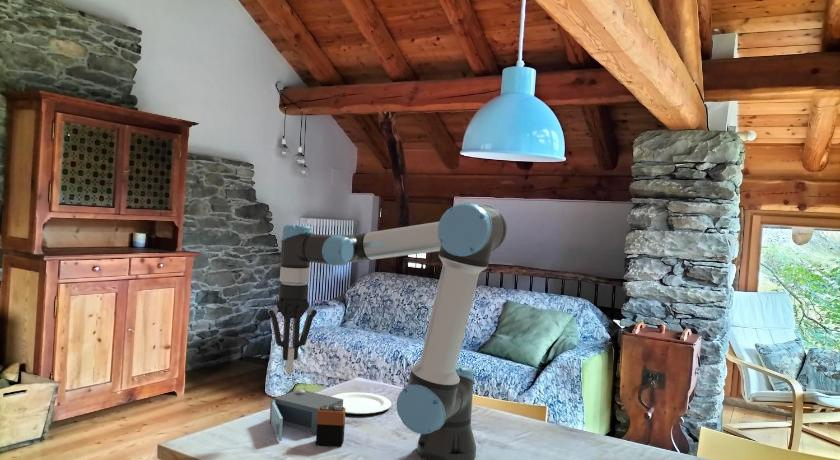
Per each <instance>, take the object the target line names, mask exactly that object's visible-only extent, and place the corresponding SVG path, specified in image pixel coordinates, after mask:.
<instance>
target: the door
mask: <svg viewBox="0 0 840 460" xmlns="http://www.w3.org/2000/svg"><path fill="white" fill-rule="evenodd" d="M269 424H271V426H272V428H273V431H274V433H275V436H276V437H277V440H278V441H279V442H281V441H283V440H282V438H283V418H282V416H281V414H280V412H279V410H278V408H277V406H276V404H275V400H274V399H271V400H270V409H269Z"/></svg>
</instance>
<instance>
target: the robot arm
mask: <svg viewBox="0 0 840 460" xmlns="http://www.w3.org/2000/svg"><path fill="white" fill-rule="evenodd" d="M312 230H313V229H312V227H311V226H310V225H306V224H305V225H304V224H286V225H284V226H283V229H282V236H281V241H280V242H281V250H280V251H281V252H280V253H281V255H280V256H281V257H280V260H281V261H280V272H279V282H281V283H279V285H278V286H279V287H278V290H279V291H278V301H276V303H275V304H276V305H275V306H273V307H272V308H268V309H267V313H268V315H269V316H270V319H271V324H272V328H273V335H274V340H275V343H276V345H277V346H278V347H280V348H282V353H281V355H282V360H283V361H285V372H286V374H293V373H294V363H295V362H294V361H296V360H298V357H299V356H298V355H299V348H300V347H302V346H305V345H306V344H307V340H308V337H309V334H310V330H311V326H312V324H313V321H314V318H315V317H316V315H317V314H318V311H317V310H316V309H315V308H313V307H311V306H310V303H309V301H308V299H309V285H308V284H307V283H309V281H310V267H311V266H310V264H311V263H315V264H322V265H330V266H346V265H348V264H349V263H361V262H362V263H363V262H365V261H371V260H379V259H387V258H388V259H389V258H397V257H403V256H410V255H412V256H413V255H419V254H420V255H421V254H425V253H435V252H438V258H439V259H440V261H441V264H442V268H441V272H440V275H439V280H438V284H437V288H436V292H435V296H434V301H433V304H432V309H431V312H430V313H431V314H430V318H429V323H428V326H427V330H426V334H425V339H424V342H423V347H422V350H421V356H420V359H419V362H417V363H415V364H414V365H412V367H411V369H410V374H409V378H408V381H407V382H408V383H407V385H406V386H405V387H404V388H402V389H401V391H400V392H399V393H398V396H397V400H396V411H397V415H398V417H399V418H400V420H401V422H402V423H403V426H405V427H406V428H407V429H409V430H410V431H412V432H414V433H416V434H419V438H418V440H417V446H416V449H417V450H416V451H417V455H418V456H419V457H421V458H422V459H424V460H474V459H476V457H477V444H476V440H475V436H474V433H473V429H472V410H473V409H472V408H473V394H474V393H473V391H474V382H475V379H474V370H473V368H472V367H470V366H468V365H465V364H460V363H458V362H459V357H460V353H461V350H462V346H463V342H464V337H465V332H466V330H467V326H468V325H467V324H468V320H469V316H470V313H471V308H472V304H473V300H474V296H475V293H476V288H477V284H478V281H479V280H478V279H479V276H480V273H481V272H483V271H485V270H486V269H488V266H489V263H490V259H491V255H492V252H493V251H496V250H497V249H499V248H500V247H501V246H502V244H503V243H504V242H505V240H506V237H507V234H508V226H507V221H506V219H505V217H504V215H503V214H502V212H501V211H499V210H498V209H496V208H495V207H493V206H490V205H485V204H484V205H482V204H478V203H471V202H464V203H459V204H456V205H453V206H451V207H450V208H448V209H447V210H446V211H445V212H444V213H443V214H442V215H441V218H440V219H439V221H434V222H428V223H423V224H415V225H409V226H403V227H396V228H389V229H383V230H376V231H371V232H362V233H356V234H319V233H313V231H312ZM278 312H280V314H281V316H282V317H283V331H282V336H281V330H280V326H279V321H278V317H277V316H278ZM305 313H306V317H305V320H304V323H303V324H304V325H303V328H302V332H301V334H300V331H301V329H300V328H301V327H300V326H301V321H302V320H301V318H302V317H303V316H304V314H305ZM292 319H293V329H292V346H290V335H291V334H290V333H291V332H290V331H291V320H292Z"/></svg>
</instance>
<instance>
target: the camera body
mask: <svg viewBox="0 0 840 460" xmlns="http://www.w3.org/2000/svg"><path fill="white" fill-rule="evenodd" d="M331 396H332V395H331ZM331 396H330V395H326V394H322V393H318V392H314V391H308V390H304V389H299V388H298V389H295V390H292V391H290V392H287V393H284V394H282V395H279V396H276V397H273V400H275V404H276V406H277V408H278V410H279V412H280V414H281V416H282V418H283V425H282V427H283V426H284V427H286V428H291V429H295V430H299V431H303V432H305V433H310V434H313V435H316V432H317V413H318V410H319V408H320V407H321V406H322V405H328V406H329V407H334V406H335V405H342V407H343V399H340V398H335V397H331Z"/></svg>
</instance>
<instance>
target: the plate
mask: <svg viewBox="0 0 840 460" xmlns="http://www.w3.org/2000/svg"><path fill="white" fill-rule="evenodd" d="M331 397H335V398H340V399H343V407H344V408H345V415H346V414H348V415H374V414H378V413H382V412H385V411H387V410H389V409H390V408H391V407H392V405H393V404H392V402H391V400H390V399H388V397H386V396H385V397H384V396H383V395H380V394H376V393H370V392H343V393H337V394H334V395H331Z"/></svg>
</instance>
